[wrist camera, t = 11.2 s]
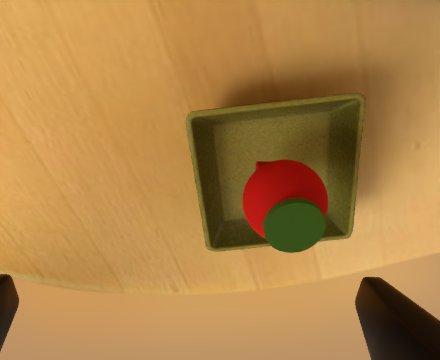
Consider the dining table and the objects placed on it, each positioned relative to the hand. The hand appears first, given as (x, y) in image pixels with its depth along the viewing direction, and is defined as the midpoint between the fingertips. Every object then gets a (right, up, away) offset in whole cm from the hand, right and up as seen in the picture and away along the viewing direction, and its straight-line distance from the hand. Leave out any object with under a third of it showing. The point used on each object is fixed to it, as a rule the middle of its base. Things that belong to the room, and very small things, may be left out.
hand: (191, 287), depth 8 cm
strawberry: (+4, +3, +9) cm, 10 cm away
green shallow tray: (+4, +4, +11) cm, 12 cm away
